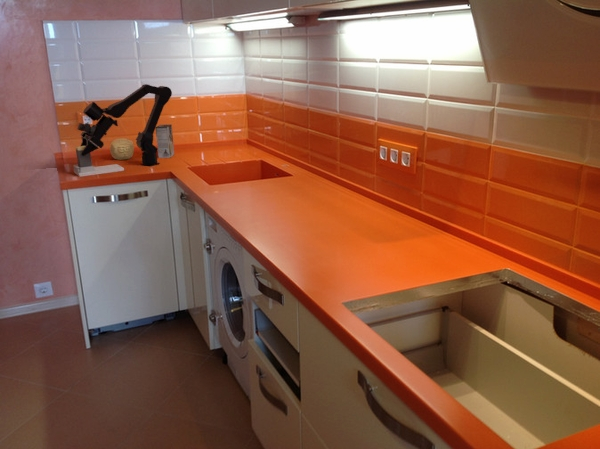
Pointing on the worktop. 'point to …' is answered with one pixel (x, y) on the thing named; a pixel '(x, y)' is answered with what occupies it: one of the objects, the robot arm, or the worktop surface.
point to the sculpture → (122, 149)
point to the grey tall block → (83, 157)
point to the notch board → (96, 169)
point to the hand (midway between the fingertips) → (80, 154)
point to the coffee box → (164, 141)
